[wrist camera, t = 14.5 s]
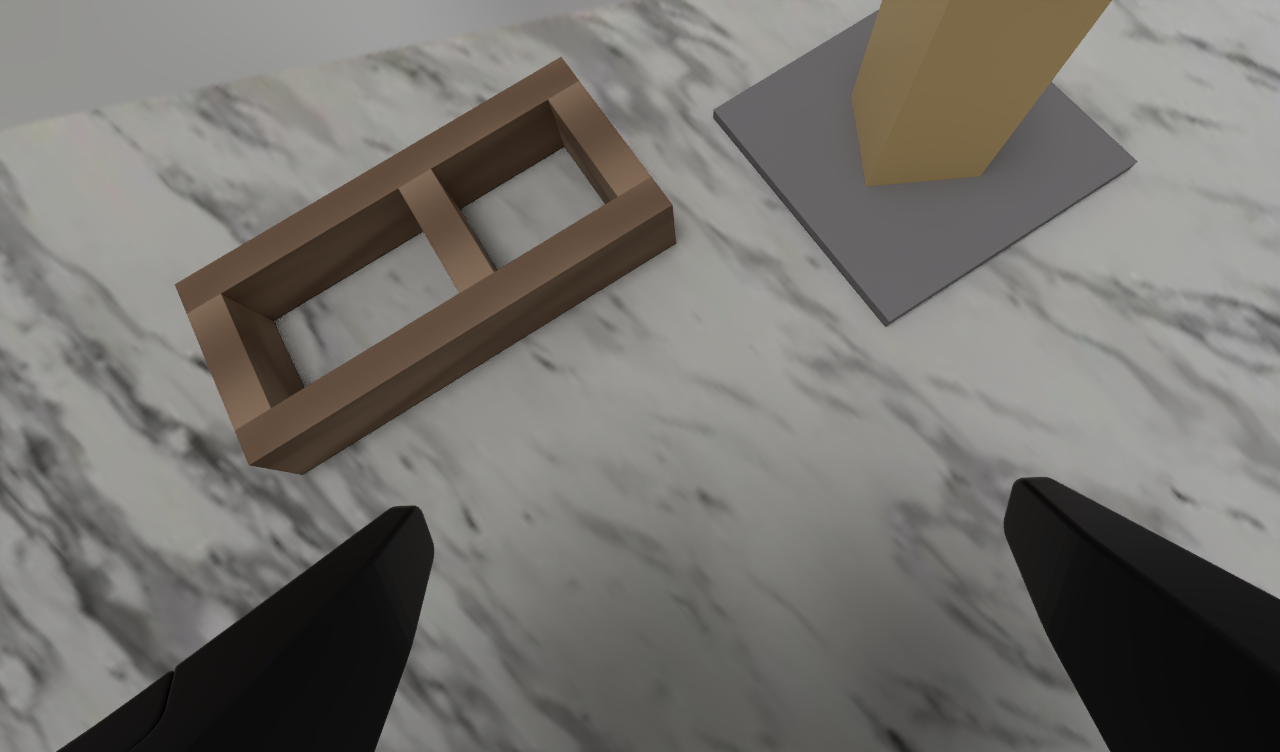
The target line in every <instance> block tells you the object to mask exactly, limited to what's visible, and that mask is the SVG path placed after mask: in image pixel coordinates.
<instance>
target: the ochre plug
mask: <svg viewBox="0 0 1280 752" xmlns="http://www.w3.org/2000/svg"><path fill="white" fill-rule="evenodd" d="M1111 1H1112V0H882V3H881V6H880V9H879V12H878V15H877V18H876V21H875V24H874V27H873V30H872V33H871V36H870V39H869V43H868V46H867V49H866V52H865V55H864V58H863V61H862V64H861V67H860V70H859V73H858V76H857V79H856V82H855V85H854V88H853V91H852V95H851V96H852V103H853V109H854V115H855V122H856V128H857V134H858V141H859V147H860V153H861V160H862V166H863V172H864V179H865V185H866V187H867V186H878V185H890V184H901V183H912V182H924V181H935V180H947V179H958V178H969V177H980V176H981V175H982V173H983V172H984V171H985V169H986V168H987V167H988V165H989V164H990V163H991V161H992V160H993V159H994V157H995V156H996V155H997V153H998V152H999V151H1000V149H1001V148H1002V147H1003V145H1004V144H1005V143H1006V141H1007V140H1008V139H1009V137H1010V136H1011V135H1012V133H1013V132H1014V131H1015V129H1016V128H1017V127H1018V125H1019V124H1020V123H1021V121H1022V120H1023V119H1024V117H1025V116H1026V115H1027V113H1028V112H1029V111H1030V109H1031V108H1032V107H1033V105H1034V104H1035V103H1036V101H1037V100H1038V98H1039V97H1040V96H1041V94H1042V93H1043V92H1044V90H1045V89H1046V88H1047V86H1048V85H1049V84H1050V82H1051V81H1052V80H1053V78H1054V77H1055V76H1056V74H1057V73H1058V72H1059V70H1060V69H1061V68H1062V66H1063V65H1064V64H1065V62H1066V61H1067V60H1068V58H1069V57H1070V56H1071V54H1072V53H1073V52H1074V50H1075V49H1076V48H1077V46H1078V45H1079V44H1080V42H1081V41H1082V40H1083V38H1084V37H1085V36H1086V34H1087V33H1088V32H1089V30H1090V29H1091V28H1092V26H1093V25H1094V24H1095V22H1096V21H1097V20H1098V18H1099V17H1100V16H1101V14H1102V13H1103V12H1104V10H1105V9H1106V8H1107V6H1108V5H1109V4H1110V2H1111Z"/></svg>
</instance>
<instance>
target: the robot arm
mask: <svg viewBox="0 0 1280 752" xmlns="http://www.w3.org/2000/svg"><path fill="white" fill-rule="evenodd" d="M1004 532H1005V536H1006V539H1007V541H1008V544H1009V546H1010V549H1011V551H1012V554H1013V556H1014V558H1015V561H1016V563H1017V566H1018V568H1019V570H1020V573H1021V575H1022V578H1023V580H1024V583H1025V585H1026V587H1027V590H1028V592H1029V595H1030V597H1031V599H1032V602H1033V604H1034V607H1035V609H1036V611H1037V614H1038V616H1039V619H1040V621H1041V623H1042V625H1043V628H1044V630H1045V632H1046V634H1047V636H1048V638H1049V640H1050V642H1051V644H1052V646H1053V648H1054V650H1055V651H1056V653H1057V655H1058V657H1059V659H1060V661H1061V662H1062V664H1063V666H1064V668H1065V670H1066V672H1067V673H1068V675H1069V677H1070V679H1071V681H1072V683H1073V684H1074V686H1075V688H1076V690H1077V692H1078V694H1079V695H1080V697H1081V699H1082V701H1083V703H1084V704H1085V706H1086V708H1087V710H1088V712H1089V714H1090V715H1091V717H1092V719H1093V721H1094V723H1095V725H1096V726H1097V728H1098V730H1099V732H1100V734H1101V736H1102V737H1103V739H1104V741H1105V743H1106V745H1107V747H1108V748H1109V750H1110V752H1280V599H1278V598H1277V597H1275V596H1273V595H1271V594H1269V593H1267V592H1265V591H1263V590H1261V589H1260V588H1258V587H1256V586H1254V585H1252V584H1250V583H1248V582H1246V581H1244V580H1243V579H1241V578H1239V577H1237V576H1235V575H1233V574H1231V573H1229V572H1227V571H1225V570H1224V569H1222V568H1220V567H1218V566H1216V565H1214V564H1212V563H1210V562H1208V561H1207V560H1205V559H1203V558H1201V557H1199V556H1197V555H1195V554H1193V553H1191V552H1190V551H1188V550H1186V549H1184V548H1182V547H1180V546H1178V545H1176V544H1174V543H1172V542H1171V541H1169V540H1167V539H1165V538H1163V537H1161V536H1159V535H1157V534H1155V533H1154V532H1152V531H1150V530H1148V529H1146V528H1144V527H1142V526H1140V525H1138V524H1137V523H1135V522H1133V521H1131V520H1129V519H1127V518H1125V517H1123V516H1121V515H1120V514H1118V513H1116V512H1114V511H1112V510H1110V509H1108V508H1106V507H1104V506H1102V505H1101V504H1099V503H1097V502H1095V501H1093V500H1091V499H1089V498H1087V497H1085V496H1084V495H1082V494H1080V493H1078V492H1076V491H1074V490H1072V489H1070V488H1068V487H1067V486H1065V485H1063V484H1061V483H1059V482H1057V481H1055V480H1053V479H1051V478H1048V477H1028V478H1020V479H1017V480H1016V481H1015V482H1014V484H1013V486H1012V490H1011V494H1010V498H1009V501H1008V505H1007V509H1006V513H1005V517H1004ZM433 559H434V544H433V540H432V538H431V535H430V532H429V529H428V526H427V524H426V521H425V518H424V515H423V513H422V511H421V509H420V508H419V507H417V506H396V507H392V508H390V509H388V510H387V511H386V512H384V513H383V514H381V515H380V516H379V517H377V518H376V519H375V520H373V521H372V522H371V523H369V524H368V525H367V526H365V527H364V528H363V529H361V530H360V531H358V532H357V533H356V534H354V535H353V536H352V537H350V538H349V539H348V540H346V541H345V542H344V543H342V544H341V545H340V546H338V547H337V548H336V549H334V550H333V551H331V552H330V553H329V554H327V555H326V556H325V557H323V558H322V559H321V560H319V561H318V562H317V563H315V564H314V565H313V566H311V567H310V568H308V569H307V570H306V571H304V572H303V573H302V574H300V575H299V576H298V577H296V578H295V579H294V580H292V581H291V582H290V583H288V584H287V585H285V586H284V587H283V588H281V589H280V590H279V591H277V592H276V593H275V594H273V595H272V596H271V597H269V598H268V599H267V600H265V601H264V602H262V603H261V604H260V605H258V606H257V607H256V608H254V609H253V610H252V611H250V612H249V613H248V614H246V615H245V616H244V617H242V618H241V619H239V620H238V621H237V622H235V623H234V624H233V625H231V626H230V627H229V628H227V629H226V630H225V631H223V632H222V633H221V634H219V635H218V636H216V637H215V638H214V639H212V640H211V641H210V642H208V643H207V644H206V645H204V646H203V647H202V648H200V649H199V650H198V651H196V652H195V653H193V654H192V655H191V656H189V657H188V658H187V659H185V660H184V661H183V662H181V663H180V664H179V665H177V666H176V667H175V670H174V671H169V672H168V673H166V674H165V675H164V676H162V677H161V678H160V679H158V680H157V681H156V682H154V683H153V684H151V685H150V686H149V687H147V688H146V689H145V690H143V691H142V692H141V693H139V694H138V695H136V696H135V697H134V698H132V699H131V700H130V701H128V702H127V703H125V704H124V705H123V706H121V707H120V708H118V709H117V710H116V711H114V712H113V713H111V714H110V715H109V716H107V717H106V718H104V719H103V720H102V721H100V722H99V723H98V724H96V725H95V726H93V727H92V728H90V729H89V730H87V731H86V732H84V733H83V734H81V735H80V736H79V737H77V738H76V739H74V740H73V741H71V742H70V743H68V744H67V745H65V746H64V747H62V748H61V749H59V750H58V751H56V752H374V751H375V749H376V746H377V743H378V740H379V738H380V735H381V732H382V729H383V727H384V724H385V721H386V718H387V715H388V713H389V710H390V707H391V704H392V702H393V699H394V696H395V693H396V691H397V688H398V685H399V682H400V679H401V677H402V674H403V671H404V668H405V666H406V663H407V660H408V657H409V654H410V651H411V647H412V644H413V640H414V637H415V633H416V629H417V625H418V621H419V616H420V612H421V608H422V604H423V600H424V596H425V592H426V588H427V584H428V580H429V575H430V571H431V567H432V563H433Z"/></svg>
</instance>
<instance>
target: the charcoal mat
mask: <svg viewBox="0 0 1280 752" xmlns="http://www.w3.org/2000/svg"><path fill="white" fill-rule="evenodd" d="M878 12H879V10H877V11H876V12H874V13H872V14H871V15H869V16H867V17H866V18H864V19H862V20H861V21H859V22H858V23H856V24H854V25H853V26H851V27H849V28H848V29H846V30H844V31H843V32H841V33H839V34H838V35H836V36H834V37H833V38H831V39H829V40H828V41H826V42H825V43H823V44H821V45H820V46H818V47H816V48H815V49H813V50H811V51H810V52H808V53H806V54H805V55H803V56H801V57H800V58H798V59H797V60H795V61H793V62H792V63H790V64H788V65H787V66H785V67H783V68H782V69H780V70H778V71H777V72H775V73H773V74H772V75H770V76H768V77H767V78H765V79H764V80H762V81H760V82H759V83H757V84H755V85H754V86H752V87H750V88H749V89H747V90H745V91H744V92H742V93H740V94H739V95H737V96H736V97H734V98H732V99H731V100H729V101H727V102H726V103H724V104H722V105H721V106H719V107H717V108H716V109H714V113H713V118H714V119H715V120H716V121H717V123H718V124H719V125H720V126H721V127H722V129H723V130H724V131H725V132H726V133H727V135H728V136H729V137H730V138H731V139H732V141H733V142H734V143H735V144H736V146H737V147H738V148H739V149H740V150H741V152H742V153H743V154H744V155H745V156H746V158H747V159H748V160H749V161H750V163H751V164H752V165H753V166H754V167H755V169H756V170H757V171H758V172H759V173H760V175H761V176H762V177H763V178H764V180H765V181H766V182H767V183H768V184H769V186H770V187H771V188H772V189H773V190H774V192H775V193H776V194H777V195H778V197H779V198H780V199H781V200H782V201H783V203H784V204H785V205H786V206H787V207H788V209H789V210H790V211H791V212H792V214H793V215H794V216H795V217H796V218H797V220H798V221H799V222H800V223H801V224H802V226H803V227H804V228H805V229H806V230H807V232H808V233H809V234H810V235H811V237H812V238H813V239H814V240H815V241H816V243H817V244H818V245H819V246H820V247H821V249H822V250H823V251H824V252H825V254H826V255H827V256H828V257H829V258H830V260H831V261H832V262H833V263H834V264H835V266H836V267H837V268H838V269H839V271H840V272H841V273H842V274H843V275H844V277H845V278H846V279H847V280H848V281H849V283H850V284H851V285H852V286H853V288H854V289H855V290H856V291H857V292H858V294H859V295H860V296H861V297H862V298H863V300H864V301H865V302H866V303H867V305H868V306H869V307H870V308H871V309H872V311H873V312H874V313H875V314H876V315H877V317H878V318H879V319H880V320H881V321H882V323H883V324H884V325H885V326H887V325H889V324H890V323H892V322H893V321H895V320H896V319H898V318H899V317H901V316H903V315H904V314H906V313H907V312H909V311H910V310H912V309H913V308H915V307H917V306H918V305H920V304H921V303H923V302H924V301H926V300H927V299H929V298H930V297H932V296H934V295H935V294H937V293H938V292H940V291H941V290H943V289H944V288H946V287H947V286H949V285H951V284H952V283H954V282H955V281H957V280H958V279H960V278H961V277H963V276H964V275H966V274H968V273H969V272H971V271H972V270H974V269H975V268H977V267H978V266H980V265H982V264H983V263H985V262H986V261H988V260H989V259H991V258H992V257H994V256H995V255H997V254H999V253H1000V252H1002V251H1003V250H1005V249H1006V248H1008V247H1009V246H1011V245H1012V244H1014V243H1016V242H1017V241H1019V240H1020V239H1022V238H1023V237H1025V236H1026V235H1028V234H1030V233H1031V232H1033V231H1034V230H1036V229H1037V228H1039V227H1040V226H1042V225H1043V224H1045V223H1047V222H1048V221H1050V220H1051V219H1053V218H1054V217H1056V216H1057V215H1059V214H1060V213H1062V212H1064V211H1065V210H1067V209H1068V208H1070V207H1071V206H1073V205H1074V204H1076V203H1077V202H1079V201H1081V200H1082V199H1084V198H1085V197H1087V196H1088V195H1090V194H1091V193H1093V192H1095V191H1096V190H1098V189H1099V188H1101V187H1102V186H1104V185H1105V184H1107V183H1108V182H1110V181H1112V180H1113V179H1115V178H1116V177H1118V176H1119V175H1121V174H1122V173H1124V172H1125V171H1127V170H1129V169H1130V168H1131V167H1132V166H1133V165H1134V164H1135V163H1137V161H1136V160H1135V159H1134V158H1133V157H1132V156H1131V155H1130V154H1129V153H1128V152H1127V151H1126V150H1124V149H1123V148H1122V147H1121V146H1120V145H1119V144H1118V143H1117V142H1116V141H1115V140H1114V139H1113V138H1112V137H1110V136H1109V135H1108V134H1107V133H1106V132H1105V131H1104V130H1103V129H1102V128H1101V127H1100V126H1099V125H1097V124H1096V123H1095V122H1094V121H1093V120H1092V119H1091V118H1090V117H1089V116H1088V115H1087V114H1086V113H1084V112H1083V111H1082V110H1081V109H1080V108H1079V107H1078V106H1077V105H1076V104H1075V103H1074V102H1073V101H1072V100H1070V99H1069V98H1068V97H1067V96H1066V95H1065V94H1064V93H1063V92H1062V91H1061V90H1060V89H1059V88H1057V87H1056V86H1055V85H1054V84H1053V83H1052V82H1050V84H1049V85H1048V86H1047V88H1046V89H1045V90H1044V92H1043V93H1042V94H1041V96H1040V97H1039V98H1038V100H1037V101H1036V103H1035V104H1034V105H1033V107H1032V108H1031V109H1030V111H1029V112H1028V113H1027V115H1026V116H1025V117H1024V119H1023V120H1022V121H1021V123H1020V124H1019V125H1018V127H1017V128H1016V129H1015V131H1014V132H1013V133H1012V135H1011V136H1010V137H1009V139H1008V140H1007V141H1006V143H1005V144H1004V145H1003V147H1002V148H1001V149H1000V151H999V152H998V153H997V155H996V156H995V157H994V159H993V160H992V161H991V163H990V164H989V165H988V167H987V168H986V169H985V171H984V172H983V173H982V175H981V176H980V177H969V178H958V179H947V180H935V181H924V182H912V183H901V184H890V185H878V186H867V187H866V185H865V179H864V172H863V166H862V160H861V153H860V147H859V141H858V134H857V128H856V122H855V115H854V109H853V103H852V96H851V95H852V91H853V88H854V85H855V82H856V79H857V76H858V73H859V70H860V67H861V64H862V61H863V58H864V55H865V52H866V49H867V46H868V43H869V39H870V36H871V33H872V30H873V27H874V24H875V21H876V18H877V15H878Z"/></svg>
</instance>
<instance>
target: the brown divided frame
mask: <svg viewBox="0 0 1280 752" xmlns="http://www.w3.org/2000/svg"><path fill="white" fill-rule="evenodd" d="M562 147H565V148H566V149H567V151H568V152H569V154H570V155H571V157H572V158H573V159H574V161H575V162H576V164H577V165H578V166H579V168H580V169H581V171H582V172H583V173H584V175H585V176H586V178H587V179H588V181H589V182H590V183H591V185H592V186H593V188H594V189H595V190H596V192H597V193H598V195H599V196H600V197H601V199H602V200H603V202H604V203H605V205H603V206H602V207H600V208H599V209H597V210H595V211H594V212H592V213H590V214H589V215H587V216H585V217H584V218H582V219H581V220H579V221H577V222H576V223H574V224H572V225H571V226H569V227H567V228H566V229H564V230H562V231H561V232H559V233H558V234H556V235H554V236H553V237H551V238H549V239H548V240H546V241H544V242H543V243H541V244H540V245H538V246H536V247H535V248H533V249H531V250H530V251H528V252H526V253H525V254H523V255H522V256H520V257H518V258H517V259H515V260H513V261H512V262H510V263H508V264H507V265H505V266H503V267H502V268H500V269H499V270H497V269H496V267H495V266H494V264H493V262H492V261H491V259H490V257H489V256H488V254H487V253H486V251H485V249H484V248H483V246H482V244H481V243H480V241H479V239H478V238H477V236H476V235H475V233H474V231H473V230H472V228H471V226H470V225H469V223H468V222H467V220H466V218H465V217H464V215H463V213H462V212H461V210H460V208H462V207H464V206H465V205H467V204H469V203H470V202H472V201H474V200H475V199H477V198H479V197H480V196H482V195H484V194H485V193H487V192H489V191H490V190H492V189H494V188H495V187H497V186H499V185H500V184H502V183H504V182H505V181H507V180H509V179H510V178H512V177H514V176H515V175H517V174H519V173H520V172H522V171H524V170H525V169H527V168H529V167H530V166H532V165H534V164H535V163H537V162H539V161H540V160H542V159H544V158H545V157H547V156H549V155H550V154H552V153H554V152H555V151H557V150H559V149H560V148H562ZM422 231H423V232H424V233H425V235H426V237H427V238H428V240H429V242H430V244H431V245H432V247H433V249H434V250H435V252H436V254H437V256H438V257H439V259H440V261H441V262H442V264H443V266H444V268H445V269H446V271H447V273H448V275H449V276H450V278H451V280H452V281H453V283H454V285H455V287H456V288H457V290H458V292H459V294H458V295H456V296H454V297H453V298H451V299H449V300H448V301H446V302H444V303H443V304H441V305H440V306H438V307H436V308H435V309H433V310H431V311H430V312H428V313H426V314H425V315H423V316H422V317H420V318H418V319H417V320H415V321H413V322H412V323H410V324H408V325H407V326H405V327H403V328H402V329H400V330H399V331H397V332H395V333H394V334H392V335H390V336H389V337H387V338H385V339H384V340H382V341H381V342H379V343H377V344H376V345H374V346H372V347H371V348H369V349H367V350H366V351H364V352H362V353H361V354H359V355H358V356H356V357H354V358H353V359H351V360H349V361H348V362H346V363H344V364H343V365H341V366H340V367H338V368H336V369H335V370H333V371H331V372H330V373H328V374H326V375H325V376H323V377H322V378H320V379H318V380H317V381H315V382H313V383H312V384H310V385H308V386H307V387H305V388H304V387H303V385H302V382H301V380H300V378H299V376H298V374H297V372H296V369H295V367H294V365H293V363H292V361H291V359H290V356H289V354H288V352H287V350H286V348H285V345H284V343H283V341H282V339H281V337H280V335H279V332H278V330H277V328H276V326H275V324H274V322H273V321H274V320H275V319H277V318H279V317H280V316H282V315H284V314H285V313H287V312H289V311H290V310H292V309H294V308H295V307H297V306H299V305H300V304H302V303H304V302H305V301H307V300H309V299H310V298H312V297H314V296H315V295H317V294H319V293H320V292H322V291H324V290H325V289H327V288H329V287H330V286H332V285H334V284H335V283H337V282H339V281H340V280H342V279H344V278H345V277H347V276H349V275H350V274H352V273H354V272H355V271H357V270H359V269H360V268H362V267H364V266H365V265H367V264H369V263H370V262H372V261H374V260H375V259H377V258H379V257H380V256H382V255H384V254H385V253H387V252H389V251H390V250H392V249H394V248H395V247H397V246H399V245H400V244H402V243H404V242H405V241H407V240H409V239H410V238H412V237H414V236H415V235H417V234H419V233H420V232H422ZM675 243H676V239H675V228H674V217H673V206H672V204H671V202H670V201H669V200H668V198H667V197H666V196H665V194H664V193H663V192H662V190H661V189H660V188H659V186H658V185H657V184H656V182H655V181H654V180H653V178H652V177H651V176H650V174H649V173H648V172H647V170H646V169H645V168H644V166H643V165H642V164H641V162H640V161H639V160H638V158H637V157H636V156H635V154H634V153H633V152H632V150H631V149H630V148H629V146H628V145H627V144H626V142H625V141H624V140H623V138H622V137H621V136H620V134H619V133H618V132H617V130H616V129H615V128H614V126H613V125H612V124H611V122H610V121H609V120H608V118H607V117H606V116H605V114H604V113H603V112H602V110H601V109H600V108H599V107H598V105H597V104H596V103H595V101H594V100H593V99H592V97H591V96H590V95H589V93H588V92H587V91H586V89H585V88H584V87H583V85H582V84H581V83H580V81H579V80H578V79H577V77H576V76H575V75H574V73H573V72H572V71H571V69H570V68H569V67H568V65H567V64H566V63H565V61H564V60H563V59H562V57H560V58H558V59H557V60H555V61H553V62H551V63H550V64H548V65H546V66H545V67H543V68H541V69H540V70H538V71H536V72H534V73H533V74H531V75H529V76H528V77H526V78H524V79H523V80H521V81H519V82H518V83H516V84H514V85H512V86H511V87H509V88H507V89H506V90H504V91H502V92H501V93H499V94H497V95H495V96H494V97H492V98H490V99H489V100H487V101H485V102H484V103H482V104H480V105H479V106H477V107H475V108H473V109H472V110H470V111H468V112H467V113H465V114H463V115H462V116H460V117H458V118H456V119H455V120H453V121H451V122H450V123H448V124H446V125H445V126H443V127H441V128H439V129H438V130H436V131H434V132H433V133H431V134H429V135H428V136H426V137H424V138H423V139H421V140H419V141H417V142H416V143H414V144H412V145H411V146H409V147H407V148H406V149H404V150H402V151H400V152H399V153H397V154H395V155H394V156H392V157H390V158H389V159H387V160H385V161H383V162H382V163H380V164H378V165H377V166H375V167H373V168H372V169H370V170H368V171H367V172H365V173H363V174H361V175H360V176H358V177H356V178H355V179H353V180H351V181H350V182H348V183H346V184H344V185H343V186H341V187H339V188H338V189H336V190H334V191H333V192H331V193H329V194H328V195H326V196H324V197H322V198H321V199H319V200H317V201H316V202H314V203H312V204H311V205H309V206H307V207H305V208H304V209H302V210H300V211H299V212H297V213H295V214H294V215H292V216H290V217H288V218H287V219H285V220H283V221H282V222H280V223H278V224H277V225H275V226H273V227H272V228H270V229H268V230H266V231H265V232H263V233H261V234H260V235H258V236H256V237H255V238H253V239H251V240H249V241H248V242H246V243H244V244H243V245H241V246H239V247H238V248H236V249H234V250H233V251H231V252H229V253H227V254H226V255H224V256H222V257H221V258H219V259H217V260H216V261H214V262H212V263H210V264H209V265H207V266H205V267H204V268H202V269H200V270H199V271H197V272H195V273H193V274H192V275H190V276H188V277H187V278H185V279H183V280H182V281H180V282H178V283H177V284H175V286H176V289H177V291H178V294H179V296H180V298H181V301H182V303H183V306H184V308H185V311H186V313H187V316H188V318H189V320H190V323H191V325H192V328H193V330H194V333H195V335H196V337H197V340H198V342H199V345H200V347H201V350H202V352H203V355H204V357H205V359H206V362H207V364H208V367H209V369H210V372H211V374H212V376H213V379H214V381H215V384H216V386H217V389H218V391H219V394H220V396H221V398H222V401H223V403H224V406H225V408H226V411H227V413H228V415H229V418H230V420H231V423H232V425H233V428H234V430H235V433H236V435H237V437H238V440H239V442H240V445H241V447H242V450H243V452H244V454H245V457H246V459H247V462H248V464H249V465H251V466H256V467H262V468H267V469H273V470H279V471H284V472H290V473H296V474H301V475H303V474H304V473H306V472H307V471H309V470H311V469H312V468H314V467H316V466H317V465H319V464H320V463H322V462H324V461H325V460H327V459H328V458H330V457H332V456H333V455H335V454H337V453H338V452H340V451H341V450H343V449H345V448H346V447H348V446H349V445H351V444H353V443H354V442H356V441H358V440H359V439H361V438H362V437H364V436H366V435H367V434H369V433H370V432H372V431H374V430H375V429H377V428H378V427H380V426H382V425H383V424H385V423H387V422H388V421H390V420H391V419H393V418H395V417H396V416H398V415H399V414H401V413H403V412H404V411H406V410H408V409H409V408H411V407H412V406H414V405H416V404H417V403H419V402H420V401H422V400H424V399H425V398H427V397H428V396H430V395H432V394H433V393H435V392H437V391H438V390H440V389H441V388H443V387H445V386H446V385H448V384H449V383H451V382H453V381H454V380H456V379H458V378H459V377H461V376H462V375H464V374H466V373H467V372H469V371H470V370H472V369H474V368H475V367H477V366H479V365H480V364H482V363H483V362H485V361H487V360H488V359H490V358H491V357H493V356H495V355H496V354H498V353H499V352H501V351H503V350H504V349H506V348H508V347H509V346H511V345H512V344H514V343H516V342H517V341H519V340H520V339H522V338H524V337H525V336H527V335H529V334H530V333H532V332H533V331H535V330H537V329H538V328H540V327H541V326H543V325H545V324H546V323H548V322H549V321H551V320H553V319H554V318H556V317H558V316H559V315H561V314H562V313H564V312H566V311H567V310H569V309H570V308H572V307H574V306H575V305H577V304H579V303H580V302H582V301H583V300H585V299H587V298H588V297H590V296H591V295H593V294H595V293H596V292H598V291H600V290H601V289H603V288H604V287H606V286H608V285H609V284H611V283H612V282H614V281H616V280H617V279H619V278H620V277H622V276H624V275H625V274H627V273H629V272H630V271H632V270H633V269H635V268H637V267H638V266H640V265H641V264H643V263H645V262H646V261H648V260H650V259H651V258H653V257H654V256H656V255H658V254H659V253H661V252H662V251H664V250H666V249H667V248H669V247H671V246H672V245H674V244H675Z"/></svg>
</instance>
